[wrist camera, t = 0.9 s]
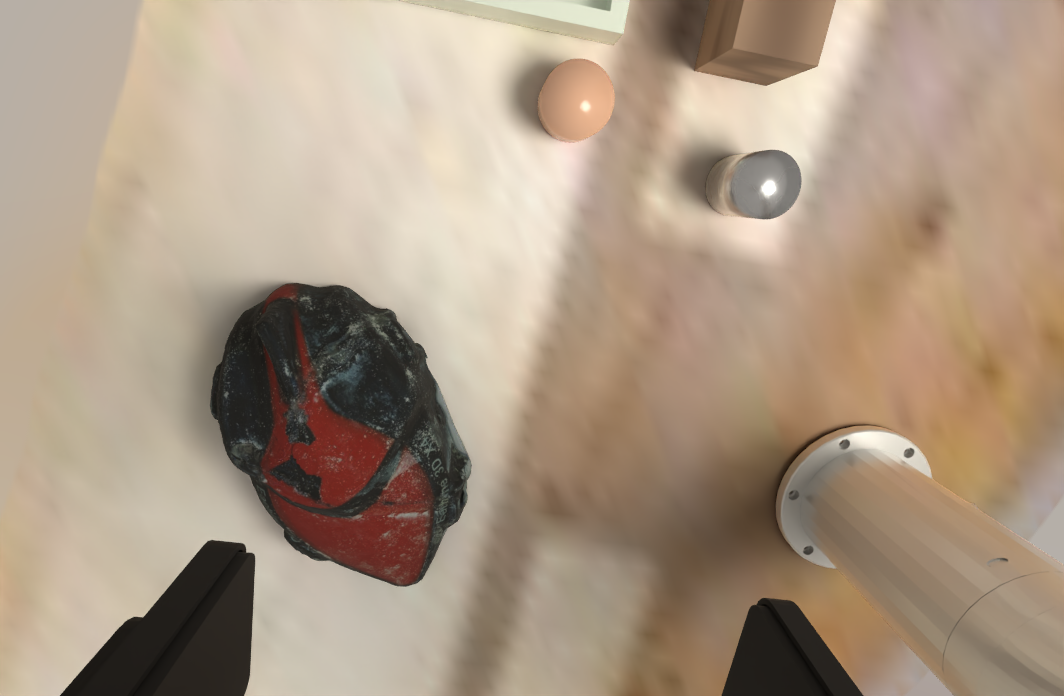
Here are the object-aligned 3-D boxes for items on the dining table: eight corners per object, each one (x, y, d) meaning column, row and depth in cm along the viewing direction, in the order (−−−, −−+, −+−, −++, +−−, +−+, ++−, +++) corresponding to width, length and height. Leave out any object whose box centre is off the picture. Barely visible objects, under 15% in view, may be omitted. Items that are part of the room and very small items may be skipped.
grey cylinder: (768, 160, 38) (809, 156, 33) (753, 220, 39) (790, 224, 34) (713, 150, 37) (746, 144, 32) (699, 210, 38) (729, 213, 33)
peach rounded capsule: (610, 76, 36) (621, 66, 33) (597, 148, 37) (606, 144, 34) (543, 63, 35) (548, 51, 32) (532, 136, 36) (535, 131, 33)
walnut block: (787, 1, 35) (845, -36, 29) (765, 85, 36) (817, 66, 31) (713, -16, 35) (757, -57, 29) (693, 70, 36) (732, 48, 30)
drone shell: (254, 252, 37) (192, 268, 30) (525, 349, 40) (533, 386, 33) (185, 515, 42) (116, 587, 34) (431, 582, 45) (420, 662, 38)
